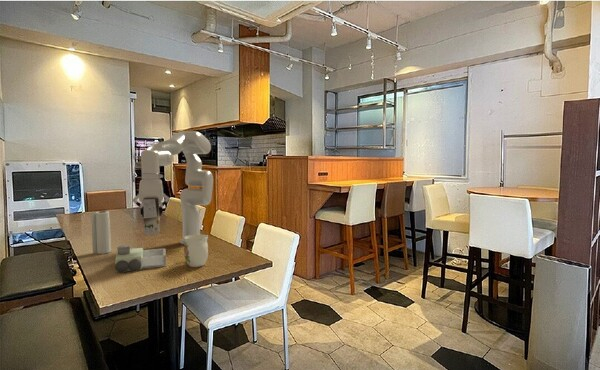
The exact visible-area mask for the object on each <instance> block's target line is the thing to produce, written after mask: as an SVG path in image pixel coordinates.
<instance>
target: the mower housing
mask: <svg viewBox="0 0 600 370" xmlns="http://www.w3.org/2000/svg"><path fill="white" fill-rule="evenodd" d="M143 250H144V247H137V248H135V247H134V248H131V246H130V245H125V244H124V245H120V246H117V254H116V256H115V266H114V269H115V273H119V274H123V273H126V272H138V271H139V270H140V271H141V270H143V269H142V263H141V257H143Z"/></svg>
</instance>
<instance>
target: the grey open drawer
mask: <svg viewBox="0 0 600 370" xmlns="http://www.w3.org/2000/svg"><path fill="white" fill-rule="evenodd" d="M166 255H167V253H166V248H165V247H164V248H153V249H143V257H141V263H142V270H143V269H144V270H145V269H152V268H153V269H154V268H155V269H156V268H163V267H167V262H166V261H167V258H166V257H167V256H166Z"/></svg>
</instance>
